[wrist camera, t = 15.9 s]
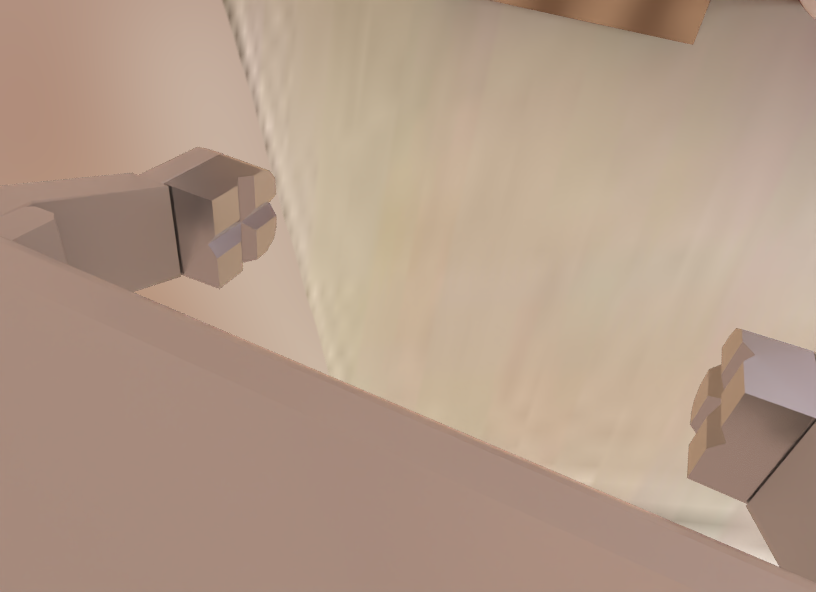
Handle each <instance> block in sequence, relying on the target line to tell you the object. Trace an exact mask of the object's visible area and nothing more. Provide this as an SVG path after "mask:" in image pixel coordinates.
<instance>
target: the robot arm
mask: <svg viewBox="0 0 816 592" xmlns="http://www.w3.org/2000/svg"><path fill="white" fill-rule="evenodd" d="M275 195H276V184H275V177H274V176H273V174H272V173H271V172H270V171H269V170H266V169H263V168H261V167H258V166H255V165H252V164H249V163H247V162H244V161H241V160H238V159H235V158H233V157H230V156H227V155H224V154H223V153H219V152H216V151H212V150H210V149H206V148H201V147H196V148H194V149H192V150H190V151H188V152H185V153H183V154H181V155H179V156H177V157H175V158H173V159H171V160H169V161H167V162H165V163H163V164H161V165H158V166H156V167H154V168H152V169H150V170H148V171H146V172H144V173H142V174H140V175H137V174H134V173H124V174H114V175H104V176H94V177H84V178H74V179H63V180H53V181H43V182H33V183H23V184H13V185H2V186H0V592H816V352H813V351H810V350H807V349H804V348H801V347H797V346H794V345H791V344H788V343H784V342H781V341H778V340H775V339H772V338H768V337H765V336H762V335H759V334H755V333H752V332H749V331H746V330H743V329H738V328H736V329H735V330H734V331H733V333H732V334H731V335H730V336H729V337H728V339H727V341H726V342H725V344H724V345H723V347H722V362H721V365H718V366H716V367H713V368H711V369H709V370H708V372H707V374H706V375H705V377H704V379H703V381H702V383H701V384H700V386H699V389H698V392H697V394H696V397H695V399H694V402H693V407H692V411H691V421H690V425H691V426H692V428H693V429H694V431H695V432H696V435H695V436H694V438H693V439H692V441H691V443H690V444H689V451H688V469H687V478H688V479H691V480H693V481H695V482H698V483H700V484H702V485H705V486H707V487H709V488H712V489H714V490H716V491H719V492H721V493H723V494H726V495H728V496H730V497H732V498H735V499H737V500H739V501H742V502H744V503H746V504H747V505H746V507H747V509H748V511H749V512H750V514H751V516H752V518H753V520H754V522H755V523H756V525H757V527H758V529H759V531H760V532H761V534H762V536H763V538H764V540H765V541H766V543H767V545H768V547H769V549H770V551H771V552H772V554H773V556H774V558H775V560H776V561H777V563H778V565H779V567H778V566H775V565H773V564H771V563H768V562H766V561H764V560H761V559H759V558H757V557H754V556H752V555H750V554H747V553H745V552H743V551H740V550H738V549H736V548H733V547H731V546H729V545H726V544H724V543H721V542H719V541H717V540H714V539H712V538H710V537H707V536H705V535H703V534H700V533H698V532H696V531H693V530H691V529H689V528H686V527H684V526H682V525H679V524H677V523H674V522H672V521H670V520H667V519H665V518H663V517H660V516H658V515H656V514H653V513H651V512H649V511H646V510H644V509H642V508H639V507H637V506H634V505H632V504H630V503H627V502H625V501H623V500H620V499H618V498H616V497H613V496H611V495H609V494H606V493H604V492H602V491H599V490H597V489H594V488H592V487H590V486H587V485H585V484H583V483H580V482H578V481H576V480H573V479H571V478H569V477H566V476H564V475H562V474H559V473H557V472H554V471H552V470H550V469H547V468H545V467H543V466H540V465H538V464H536V463H533V462H531V461H529V460H526V459H524V458H522V457H519V456H517V455H514V454H512V453H510V452H507V451H505V450H503V449H500V448H498V447H496V446H493V445H491V444H489V443H486V442H484V441H482V440H479V439H477V438H475V437H472V436H470V435H467V434H465V433H463V432H460V431H458V430H456V429H453V428H451V427H449V426H446V425H444V424H442V423H439V422H437V421H435V420H432V419H430V418H427V417H425V416H423V415H420V414H418V413H416V412H413V411H411V410H409V409H406V408H404V407H402V406H399V405H397V404H395V403H392V402H390V401H387V400H385V399H383V398H380V397H378V396H376V395H373V394H371V393H369V392H366V391H364V390H362V389H359V388H357V387H355V386H352V385H350V384H348V383H345V382H343V381H341V380H338V379H336V378H333V377H331V376H329V375H326V374H324V373H321V372H319V371H317V370H315V369H312V368H310V367H307V366H305V365H303V364H301V363H298V362H296V361H294V360H291V359H289V358H286V357H284V356H282V355H279V354H277V353H275V352H272V351H270V350H268V349H265V348H263V347H261V346H258V345H256V344H253V343H251V342H249V341H247V340H244V339H242V338H239V337H237V336H235V335H232V334H230V333H228V332H225V331H223V330H221V329H218V328H216V327H214V326H211V325H209V324H206V323H204V322H202V321H200V320H197V319H195V318H192V317H190V316H188V315H185V314H183V313H181V312H178V311H176V310H174V309H171V308H169V307H167V306H164V305H162V304H160V303H157V302H155V301H153V300H150V299H147V298H146V297H143V296H141V295H138V294H136V293H134V292H135V291H138V290H141V289H144V288H147V287H150V286H153V285H156V284H160V283H163V282H166V281H169V280H172V279H174V278H178V277H181V275H184V276H186V277H189V278H192V279H195V280H197V281H200V282H203V283H205V284H208V285H211V286H213V287H216V288H219V289H220V288H222V287H223V286H224V285H225V284H227V283H228V282H229V281H230V280H232V279H233V278H234V277H236V276H237V275H238V274H239V273H241V272H242V271H243V262H247V261H252V260H256V259H258V258H259V257H261V256H262V255H263V254H264V253H265V252H266V251H267V250H268V248H269V246H270V245H271V243H272V241H273V239H274V236H275V231H276V214H275V212H274V210H273V208H272V207H271V205H270V203H269V202H270V201H271V200H272V199H273V197H274V196H275Z"/></svg>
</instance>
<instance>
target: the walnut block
mask: <svg viewBox="0 0 816 592" xmlns="http://www.w3.org/2000/svg"><path fill="white" fill-rule="evenodd" d="M491 1H495V2H500V3H505V4H509V5H514V6H518V7H523V8H527V9H532V10H537V11H541V12H546V13H550V14H555V15H559V16H564V17H569V18H573V19H578V20H582V21H587V22H591V23H596V24H601V25H605V26H610V27H614V28H619V29H623V30H628V31H633V32H637V33H642V34H646V35H651V36H656V37H660V38H665V39H669V40H674V41H678V42H683V43H688V44H692V45H693V43H694V41H695V38H696V36H697V33H698V30H699V28H700V25H701V23H702V20H703V18H704V15H705V13H706V10H707V8H708V5H709V3H710V0H491Z"/></svg>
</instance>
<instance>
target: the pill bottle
mask: <svg viewBox="0 0 816 592" xmlns="http://www.w3.org/2000/svg"><path fill="white" fill-rule="evenodd" d="M799 1H800V3H801V4H802V6H803V7H804V9H805V10H806V11H807V12H808V13H809V14H810V15H811V16H812V17H813V18H814V19H815V20H816V0H799Z"/></svg>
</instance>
